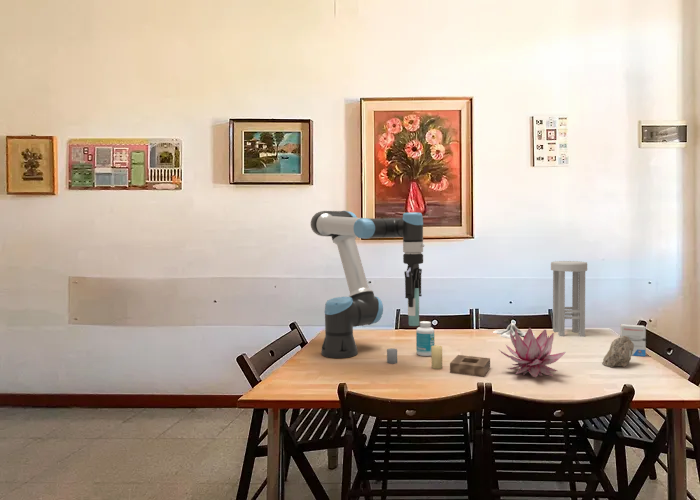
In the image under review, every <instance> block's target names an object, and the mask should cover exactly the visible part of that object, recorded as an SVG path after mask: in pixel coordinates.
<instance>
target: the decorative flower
mask: <svg viewBox="0 0 700 500" xmlns="http://www.w3.org/2000/svg"><path fill="white" fill-rule="evenodd" d="M526 332H527V333H526V334H525V336H524V337H523V339H522V337H521V336H519V335H518V332H517V329H516V328H515V338H514V337H513V335H512V333H511V331H510V337H511V338H510V340H511V343H512V345H513V347H514V349H512V348H511V347H510V346H508V344H505V346H506V348H507V350H508V351H509V353H511V355H509V354H507V353H505V352H503V351H501V350H500V349H498V351H499V352H500V353H501V354H502V355H504V356H506V357H507V358H509V359H510V360H512V361H513V362H515V363H511V365H512V366H514V367H507V368H506V369H508V370H514V369H518V370H517V371H516V372H515V373H514V374H515V375H518V374H522V373H523V374H522V376H525V375H526V374H528V372H529V374H530V376H532V378H537V377H538V376H540V377H543V375H542V374H544V375H546V376H550V377H551V376H552V377H554V375H553V373H552V372H558V370H557V369H555V368H552V367H549V366H548V365H551V364H553V363H556V362H558V360H560V359H561V358H562V357H563V356H564V355H565V354H566V351H563V352H559V353H554V354H551V353H552V348H553V347H552V346H553V343H554V336H555V332H552V333H551V335H550V336H549V335H548V332H547V329H544V330H543V331H541V333H540V334H539V335H538V336H537V337H536V336H535V337H534V336H533V330H532V328H531V327H528V329H527V331H526ZM514 350H515V351H514Z"/></svg>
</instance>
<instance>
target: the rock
mask: <svg viewBox="0 0 700 500" xmlns="http://www.w3.org/2000/svg"><path fill="white" fill-rule="evenodd" d="M633 349H634V344H633V342H632V341H631V340H630V339H629V337H628V336H621V337H620V336H619V337H617V338H615V339H614V340H613V341H612V342H611V343H610V347H609V349H608V351H607V353H606V354H605V356H603V360H602V362H601V364H602V365H603V366H605V367H608V368H609V367H610V368H613V367H623V368H624V367H626V366H628V364H630V361H631V359H632V351H633Z"/></svg>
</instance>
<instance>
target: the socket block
mask: <svg viewBox="0 0 700 500" xmlns="http://www.w3.org/2000/svg"><path fill="white" fill-rule="evenodd" d="M490 369H491V358H490V357H484V356H483V357H482V356H481V357H480V356H473V355H463V354H458V355H456V356H455V357H454V359H452V360H451V361H450V363H449V373H451V374H459V375H465V376H466V375H467V376H476V377H482V378H484V377H486V374H487V373H488V371H490Z"/></svg>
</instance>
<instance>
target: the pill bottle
mask: <svg viewBox="0 0 700 500" xmlns="http://www.w3.org/2000/svg"><path fill="white" fill-rule="evenodd" d="M415 335H416V336H415V337H416V338H415V340H416V341H415V343H416V348H415V349H416V350H415V351H416V354H417V355H418V356H419V357H431V346H433V345H435V329H434V328H433V327H432V321H426V320H423V321H419V326H417V328H416V334H415Z"/></svg>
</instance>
